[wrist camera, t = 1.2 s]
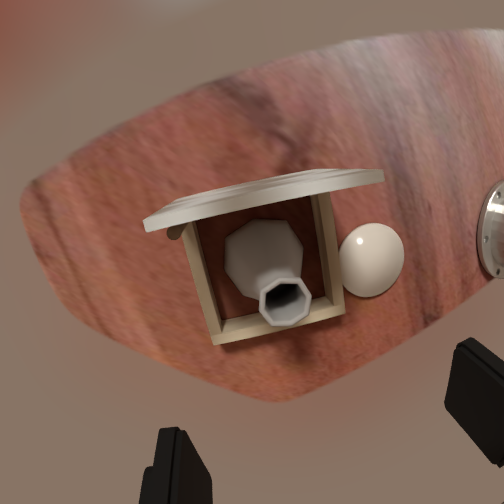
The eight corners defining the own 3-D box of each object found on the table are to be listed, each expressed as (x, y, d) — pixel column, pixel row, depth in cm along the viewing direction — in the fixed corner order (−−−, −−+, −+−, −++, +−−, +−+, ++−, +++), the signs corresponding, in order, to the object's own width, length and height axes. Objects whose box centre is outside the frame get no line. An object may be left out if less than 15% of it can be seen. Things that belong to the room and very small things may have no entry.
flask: (311, 283, 29) (351, 335, 19) (235, 305, 29) (243, 368, 19) (293, 207, 27) (332, 227, 17) (211, 230, 27) (206, 264, 17)
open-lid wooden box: (316, 168, 26) (383, 169, 15) (336, 302, 29) (393, 372, 18) (177, 198, 26) (143, 220, 14) (213, 331, 29) (212, 421, 17)
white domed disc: (398, 216, 28) (401, 217, 27) (403, 284, 30) (405, 286, 29) (331, 231, 28) (332, 232, 27) (340, 303, 30) (342, 305, 29)
